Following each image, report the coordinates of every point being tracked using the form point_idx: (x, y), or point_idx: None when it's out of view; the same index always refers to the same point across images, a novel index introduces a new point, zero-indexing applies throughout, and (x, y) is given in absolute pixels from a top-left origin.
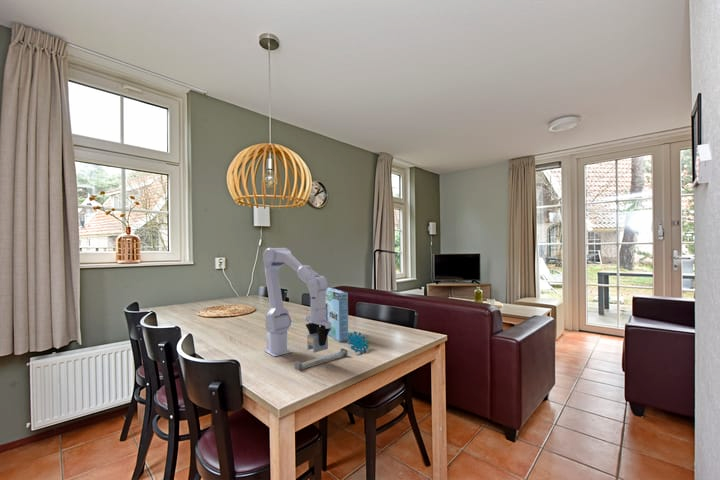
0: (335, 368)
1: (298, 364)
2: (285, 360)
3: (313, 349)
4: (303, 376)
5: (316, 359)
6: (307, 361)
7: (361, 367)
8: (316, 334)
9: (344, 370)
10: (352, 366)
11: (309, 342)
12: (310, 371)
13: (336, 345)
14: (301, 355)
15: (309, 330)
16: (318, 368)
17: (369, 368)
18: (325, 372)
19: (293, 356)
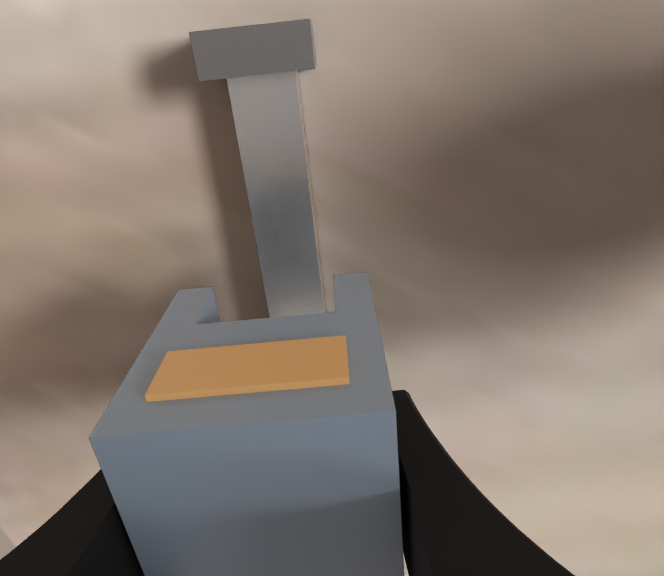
0: (104, 355)
1: (208, 30)
2: (613, 30)
3: (195, 304)
4: (29, 5)
5: (301, 297)
6: (300, 195)
7: (41, 498)
8: (298, 543)
9: (31, 389)
10: (87, 464)
11: (305, 337)
12: (135, 139)
13: (562, 559)
14: (599, 252)
15: (451, 541)
16: (174, 240)
17: (2, 524)
18: (49, 249)
19: (645, 170)
